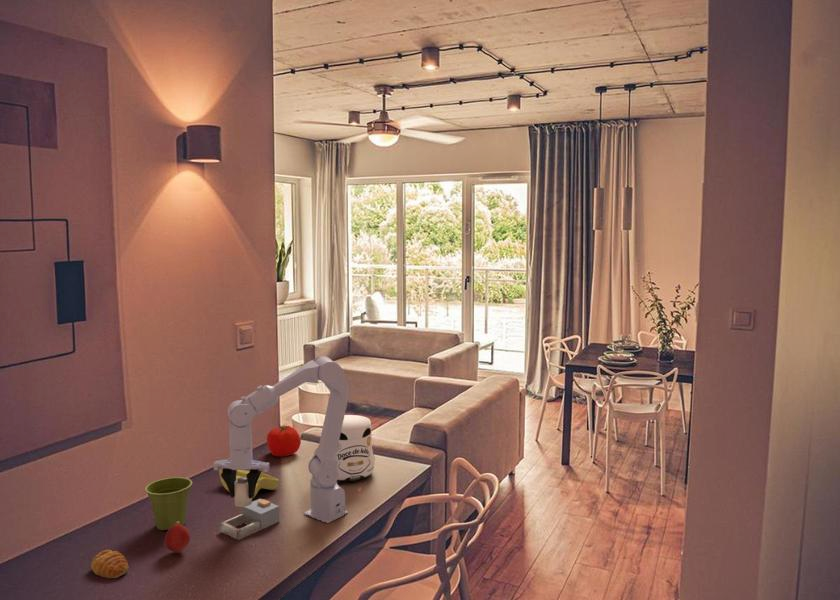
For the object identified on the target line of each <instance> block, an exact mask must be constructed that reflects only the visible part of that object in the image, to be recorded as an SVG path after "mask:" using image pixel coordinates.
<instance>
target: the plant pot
mask: <svg viewBox="0 0 840 600" xmlns="http://www.w3.org/2000/svg"><path fill="white" fill-rule="evenodd" d="M192 485H193V481H192V479H190V478H188V477H181V476H180V477H179V476H177V477H166V478H165V477H164V478H161V479H158V480H155V481H152V482H150V483H148V484H147V485H146V486H145V488H144V492H146V493H147V496H148V499H149V501H150V504H151V509H152V513H153V517H154V522H155V526H156V529H157V530H159V531H166V530H167V531H168V530H169V529H170V528H171V527H172V526H173V525H174V524H175V523H176V522H180V525H183V526H184V524H185V523H186V517H187V510H188V509H187V508H188V501H189V494H190V491H191V490H190V489H191V487H192Z"/></svg>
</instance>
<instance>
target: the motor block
mask: <svg viewBox="0 0 840 600" xmlns="http://www.w3.org/2000/svg"><path fill="white" fill-rule="evenodd" d="M241 508H242V509H241V510H242V513H244V514H246V515H248V516H251V517H253V518H255V519H257V520H260V521H261V529H262V528H265V527H267V526H269V525H271V524H273V523H276V522H278V521H279V522H280V505H277V504H274V503H273V502H271V501H269V500H267V499H265V498H258V499H256V500H252V504H251V505H249V506H245V507H241ZM279 522H278V523H279ZM276 524H277V523H276ZM267 528H268V527H267ZM265 529H266V528H265Z"/></svg>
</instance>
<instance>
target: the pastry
mask: <svg viewBox="0 0 840 600" xmlns="http://www.w3.org/2000/svg"><path fill="white" fill-rule="evenodd" d="M90 567H91V571H92V572H93V573H94V574H95V575H96V576H98V577H102V578H106V579H117V578H119V577H121V576H123V575H125V574H126V573H127V572H128V570H129V568H130V567H129V562H128V560H127V559H126V557H125V556H124V555H123V554H122V553H120V551H117V550H114V551H113V550H111V549H105V550H102V551H100V552H99V553H98V554H97V555H94V557H93V559H92V560H91V563H90Z"/></svg>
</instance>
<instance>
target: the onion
mask: <svg viewBox="0 0 840 600" xmlns="http://www.w3.org/2000/svg"><path fill="white" fill-rule="evenodd" d="M190 540H191V534H190V531H189V529H188V528H187V527H186V526H184V525H180V522H176V523H175V524H174V525H173V526H172V527H171V528H170V529H169V530H167V531H166V533H165V536H164V545H165V547H166V548H167V549H168V550H170V551H172V552H173V553H177V554H179V553H182V552H183V550H184V549H185V548H186V547H188V545H189V543H190Z"/></svg>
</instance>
